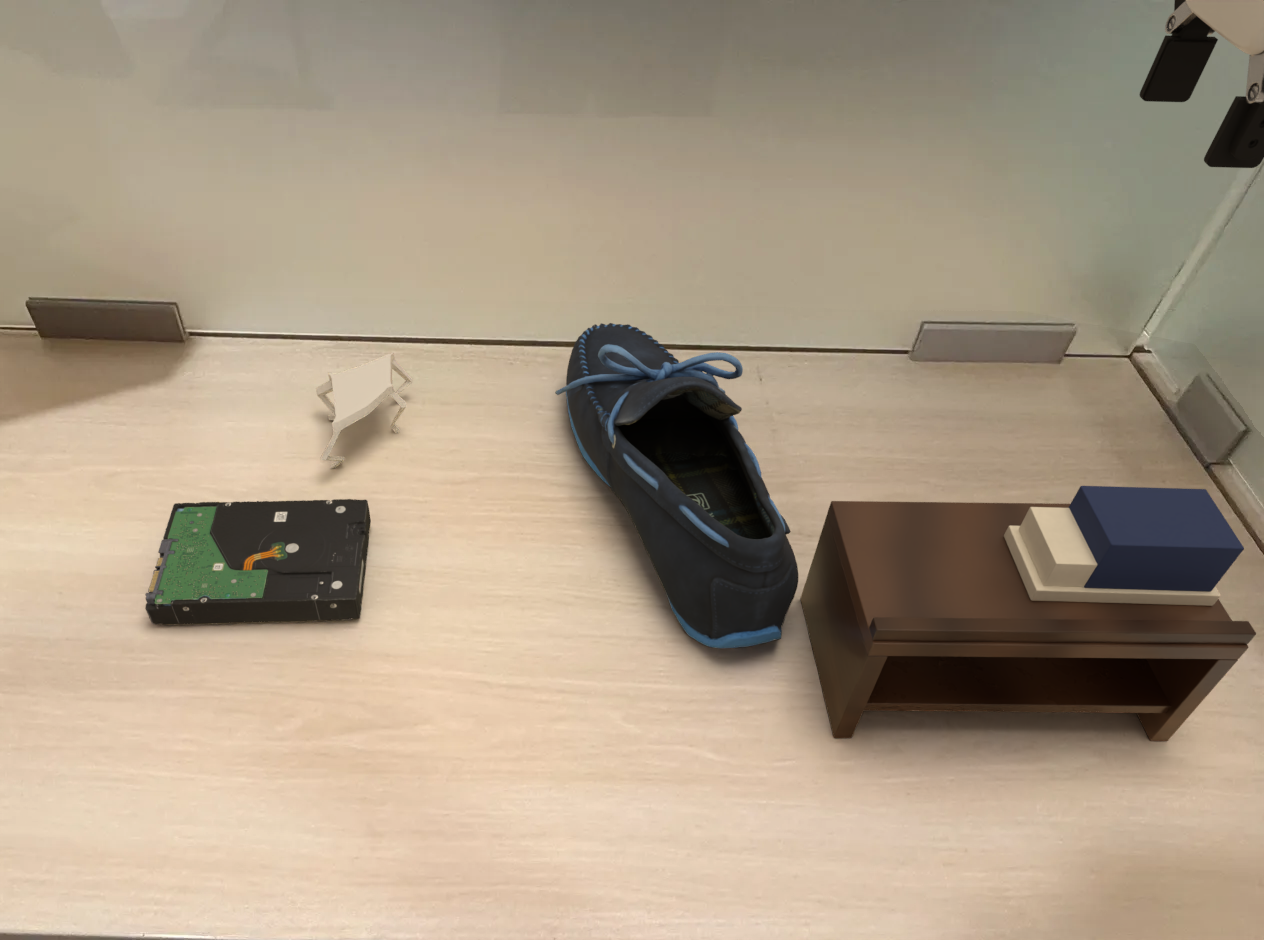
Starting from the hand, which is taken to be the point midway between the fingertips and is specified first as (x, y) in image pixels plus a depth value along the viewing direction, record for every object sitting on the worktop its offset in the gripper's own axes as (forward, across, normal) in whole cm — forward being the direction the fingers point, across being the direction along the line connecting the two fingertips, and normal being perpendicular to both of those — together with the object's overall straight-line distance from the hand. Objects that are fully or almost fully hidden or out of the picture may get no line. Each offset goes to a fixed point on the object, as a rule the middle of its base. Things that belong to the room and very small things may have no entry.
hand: (1194, 131), depth 63 cm
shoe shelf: (+28, -22, +11) cm, 37 cm away
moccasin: (+28, -6, +32) cm, 43 cm away
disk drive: (+28, -15, +62) cm, 70 cm away
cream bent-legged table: (+28, +1, +57) cm, 64 cm away
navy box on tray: (+18, -22, +6) cm, 29 cm away
